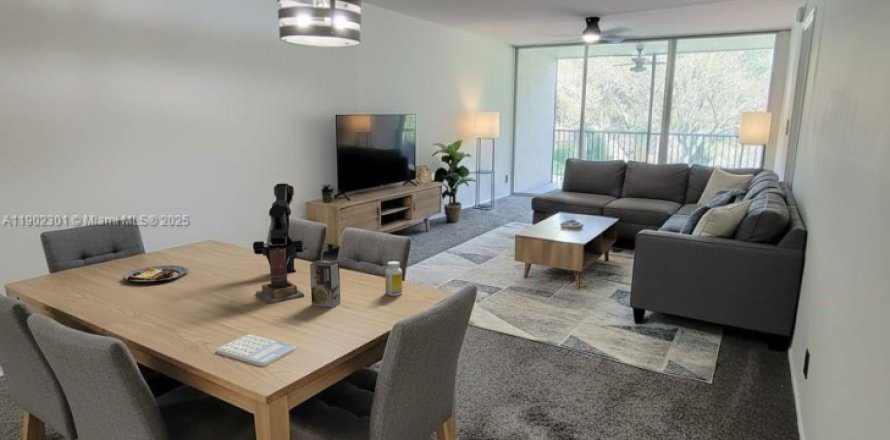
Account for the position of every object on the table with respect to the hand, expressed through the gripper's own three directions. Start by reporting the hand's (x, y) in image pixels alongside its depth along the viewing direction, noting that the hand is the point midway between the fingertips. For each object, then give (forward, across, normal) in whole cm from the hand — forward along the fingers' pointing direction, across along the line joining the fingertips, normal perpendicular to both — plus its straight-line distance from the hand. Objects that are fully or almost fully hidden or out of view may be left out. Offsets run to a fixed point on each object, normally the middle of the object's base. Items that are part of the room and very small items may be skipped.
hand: (278, 265), depth 208 cm
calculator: (+44, -2, -27) cm, 52 cm away
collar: (+8, 0, +9) cm, 12 cm away
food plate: (-16, -54, +34) cm, 66 cm away
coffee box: (+17, +18, 0) cm, 25 cm away
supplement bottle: (+12, +44, +6) cm, 46 cm away
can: (+5, 0, +6) cm, 8 cm away
